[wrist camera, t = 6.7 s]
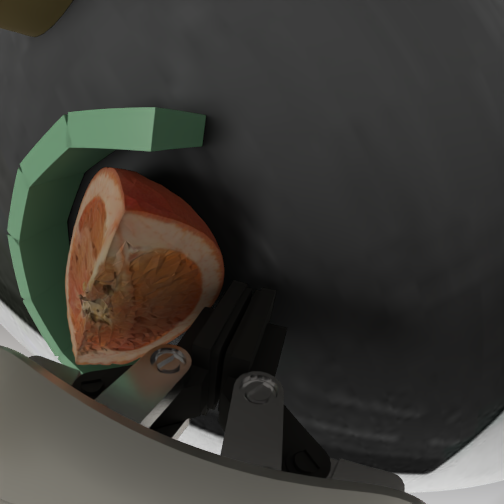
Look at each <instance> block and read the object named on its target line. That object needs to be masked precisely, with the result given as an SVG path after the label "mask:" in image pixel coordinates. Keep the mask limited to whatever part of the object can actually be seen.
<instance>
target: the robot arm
mask: <svg viewBox="0 0 504 504" xmlns="http://www.w3.org/2000/svg"><path fill="white" fill-rule="evenodd" d="M251 295H252V289H251V288H248V284H247V283H243V282H239V281H235V280H234V281H233V282H232V284H231V285H230V287H229V288H228V290H227V291H226V293H225V294H224V296H223V297H222V299H221V300H220V302H219V303H218V305H217V306H216V308H215V309H213V308H210V307H204V308H203V310H202V311H201V312H200V314H199V315H198V317H197V318H196V319H195V321H194V322H193V323H192V325H191V326H190V328H189V329H188V330H187V332H186V333H185V335H184V336H183V337H182V339H181V340H180V342H179V343H178V344H177V346H176V345H170V344H165V345H159V346H156V347H154V348H152V349H151V350H149V351H148V352H147V353H146V354H145V355H144V356H143V357H142V358H140V359H139V360H138V361H137V362H136V363H135V364H133V365H128V366H122V367H116V368H110V369H104V370H98V371H91V372H87V373H84V374H81V372H80V370H77V369H74V368H71V367H69V366H66V365H63V364H60V363H57V362H55V361H52V360H49V359H47V358H44V357H41V356H31V357H29V358H28V357H26V356H24V355H23V354H21V353H19V352H17V351H15V350H12V349H10V348H7V347H4V346H0V504H426V503H425V502H423V501H422V500H420V499H418V498H416V497H415V496H413V495H410V494H408V493H405V492H404V483H403V481H402V479H401V478H400V477H399V476H398V475H396V474H394V473H391V472H387V471H383V470H379V469H375V468H372V467H368V466H364V465H361V464H357V463H354V462H351V461H347V460H344V459H341V458H340V459H339V460H335V459H332V458H330V457H329V456H328V454H327V453H326V451H325V450H324V449H323V448H322V447H321V446H320V445H319V444H318V443H317V442H316V441H315V439H314V438H313V437H312V436H311V435H310V434H309V433H308V432H307V431H306V429H305V428H304V427H303V426H302V425H301V424H300V423H299V421H298V420H297V419H296V418H295V417H294V416H293V415H292V413H291V412H290V411H289V410H288V409H287V408H286V406H285V405H284V390H283V386H282V384H281V383H280V381H279V380H278V379H276V378H275V374H276V370H277V366H278V363H279V359H280V355H281V351H282V347H283V343H284V339H285V335H286V330H287V328H285V327H281V326H277V325H273V324H269V322H270V318H271V313H272V309H273V304H274V300H275V295H276V291H275V290H271V289H267V288H262V289H261V291H259V290H256V291H255V293H254V295H253V297H252V299H251ZM218 401H219V407H218V411H219V419H218V422H219V424H220V425H221V427H222V428H223V430H224V431H225V435H224V440H223V445H222V450H221V455H217V454H214V453H211V452H208V451H205V450H202V449H199V448H196V447H194V446H191V445H188V444H185V443H183V442H180V441H178V440H177V439H178V438H179V437H180V436H181V434H182V433H183V432H184V430H185V429H186V428H187V426H188V425H189V424H190V422H191V419H192V418H194V417H197V416H200V415H201V414H202V415H205V416H206V414H207V412H208V410H209V408H210V409H213V410H214V409H215V407H216V405H217V403H218Z"/></svg>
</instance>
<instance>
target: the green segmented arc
mask: <svg viewBox="0 0 504 504" xmlns="http://www.w3.org/2000/svg"><path fill="white" fill-rule="evenodd" d="M205 120H206V115H202V114H196V113H190V112H184V111H178V110H171V109H164V108H156V107H146V108H114V109H98V110H86V111H76V112H68V115H63V116H62V117H61V118H60V119H59V120H58V121H57V122H56V123H55V124H54V125H53V126H52V127H51V129H50V130H49V131H48V132H47V133H46V134H45V135H44V136H43V137H42V138H41V139H40V141H39V142H38V143H37V144H36V145H35V146H34V148H33V149H32V150H31V151H30V152H29V153H28V155H27V156H26V157H25V158H24V160H23V161H22V162H21V163H20V166H21V167H20V168H18V171H17V176H16V180H15V185H14V190H13V196H12V201H11V207H10V214H9V221H8V229H7V231H8V232H9V233H10V234H8V240H9V246H10V252H11V257H12V261H13V266H14V271H15V275H16V279H17V283H18V287H19V291H20V294H21V297H22V298H24V299H25V300H23V302H24V304H25V306H26V308H27V310H28V312H29V313H30V315H31V317H32V319H33V321H34V322H35V324H36V326H37V327H38V329H39V331H40V333H41V334H42V336H43V337H44V339H45V341H46V342H47V344H48V345H49V347H50V349H51V350H52V352H53V353H54V355H55V356H59V357H58V360H59V361H60V362H61V363H62V364H63V365H66V366H69V367H71V368H74V369H77V370H80V372H81V374H84V373H87V372H91V371H98V370H104V369H110V368H116V367H122V366H128V365H133V364H135V363H136V362H137V361H138V360H139V359H140V358H138V359H137V360H134V361H132V362H130V363H127V364H122V365H120V364H113V363H112V364H111V365H101V364H98V365H91V364H89V365H77V364H76V363H75V356H74V353H73V351H72V347H73V345H72V342H71V334H70V330H69V324H68V319H67V302H66V293H65V275H66V266H67V260H68V254H69V250H70V247H69V237H68V227H67V220H68V217H69V213H70V210H71V208H72V205H73V202H74V199H75V196H76V194H77V191H78V188H79V186H80V183H81V180H82V178H83V175H84V173H85V172H86V171H87V170H88V169H90V168H91V167H92V166H94V165H95V164H96V163H98V162H99V161H101V160H102V159H103V158H105V157H106V156H108V155H109V154H110V153H112V152H113V151H115V150H116V149H124V150H138V151H159V150H168V149H177V148H188V147H200V146H202V143H203V135H204V128H205ZM141 358H142V357H141Z"/></svg>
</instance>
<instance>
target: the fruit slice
mask: <svg viewBox="0 0 504 504" xmlns="http://www.w3.org/2000/svg"><path fill="white" fill-rule="evenodd" d="M223 281H224V263H223V257H222V253H221V251H220V248H219V246H218V244H217V242H216V239H215V237H214V236H213V234H212V232H211V231H210V229H209V228H208V226H207V225H206V223H205V222H204V221H203V220H202V219H201V218H200V216H199V215H198V214H197V213H196V212H195V211H194V210H193V209H192V207H191V206H190V205H189V204H187V203H186V202H185V201H184V200H183V199H181V198H180V197H179V196H177V195H175V194H174V193H172V192H171V191H169V190H168V189H167V188H165V187H164V186H162V185H161V184H158V183H156V182H154V181H151V180H149V179H148V178H146V177H144V176H142V175H140V174H139V173H137V172H134V171H129V170H126V169H118V168H109V167H104V168H102V169H101V170H100V171H99V172H98V173H97V174H96V175H95V176H94V177H93V179H92V180H91V182H90V184H89V186H88V188H87V190H86V192H85V195H84V197H83V200H82V202H81V205H80V209H79V212H78V215H77V219H76V223H75V226H74V229H73V235H72V239H71V245H70V250H69V254H68V260H67V266H66V275H65V293H66V302H67V319H68V324H69V330H70V334H71V342H72V345H73V347H72V351H73V353H74V356H75V363H76V364H77V365H89V364H91V365H98V364H101V365H111V364H112V363H113V364H120V365H122V364H127V363H130V362H132V361H134V360H137V359H138V358H141V357H143V356H144V355H145V354H146V353H147V352H148V351H149V350H151V349H152V348H154V347H156V346H159V345H165V344H167V343H169V342H170V341H172V340H174V339H175V338H177V337H178V336H179V335H181V334H182V333H184V332H185V331H186V330H188V329H189V328H190V326H191V325H192V323H193V322H194V321H195V319H196V318H197V317H198V315H199V314H200V312H201V311H202V310H203V308H204V307H210V308H211V306H212V305H213V304H214V302H215V301H216V299H217V298H218V296H219V294H220V291H221V289H222V286H223Z"/></svg>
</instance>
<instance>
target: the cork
mask: <svg viewBox="0 0 504 504" xmlns="http://www.w3.org/2000/svg"><path fill="white" fill-rule="evenodd" d="M72 1H73V0H0V28H2V29H6V30H10V31H14V32H17V33H21V34H24V35H28V36H32V37H37V36H39V35H41V34H43V33H45V32H46V31H47V30H48V29H50V28H51V27H52V26H53V25H54V24H55V23H56V22H57V20H58V19H59V18H60V17H61V16H62V15H63V14H64V12H65V11H66V9H67V8H68V7H69V5H70V4H71V3H72Z"/></svg>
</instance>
